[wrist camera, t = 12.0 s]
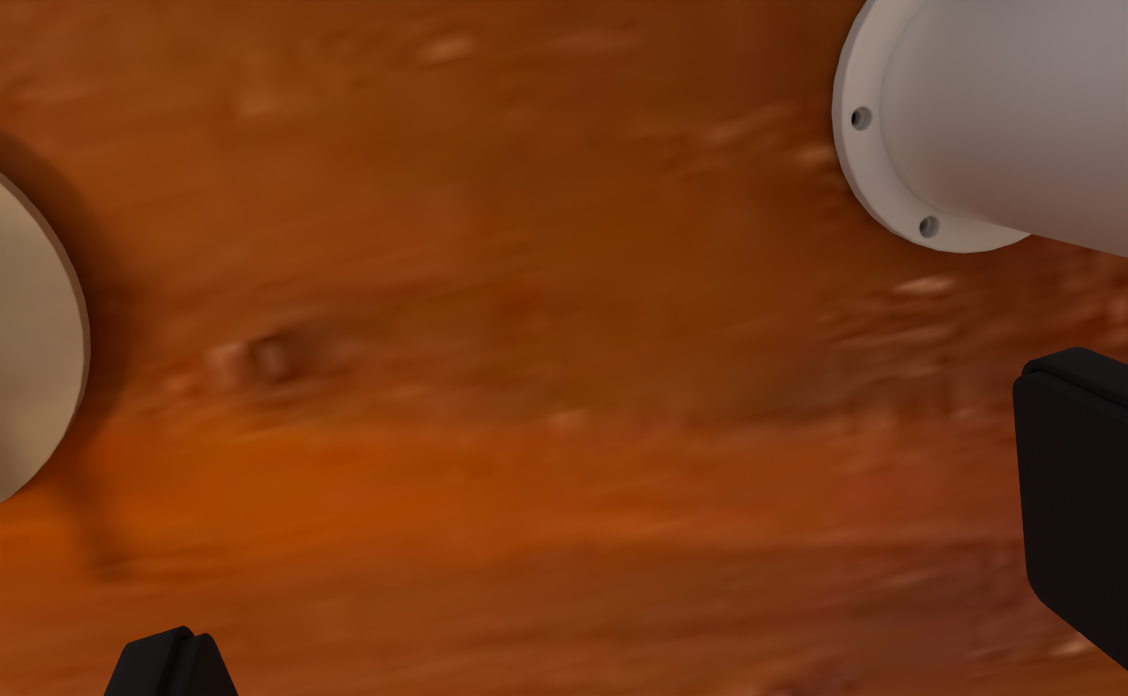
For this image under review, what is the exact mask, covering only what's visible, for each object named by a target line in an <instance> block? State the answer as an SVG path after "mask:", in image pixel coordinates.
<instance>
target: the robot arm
mask: <svg viewBox="0 0 1128 696" xmlns="http://www.w3.org/2000/svg"><path fill="white" fill-rule="evenodd" d="M853 113H855V116H856V117H855V121H854V122H853V123H852V122H851V118H852V114H853ZM831 114H832V124H833V134H834V144H835V147H836V151H837V154H838V158H839V161H840V165H841V168H842V172H843V174H844V176H845V178H846V180H847V181H848V183H849V185H850V187H851V189H852V191H853V193H854V195H855V197H856V198H857V199H858V200H859V202H860V203H861V204H862V205H863V207H864V208H865V209H866V210H867V212H868V213H869V214H870V215H871V216H872V217H873V218H874V219H875V220H876V221H878V222H879V223H880V224H881V225H883V226H884V227H885V228H887V229H888V230H889V231H890V232H892V233H893V234H896V235H898V236H900V237H902V238H904V239H906V240H908V241H910V242H912V243H914V244H918V245H921V246H925V247H928V248H931V249H934V250H937V251H946V252H955V253H972V252H982V251H990V250H993V249H997V248H1000V247H1003V246H1006V245H1010V244H1013V243H1016V242H1018V241H1020V240H1022V239H1023V238H1025V237H1027V236H1029V235H1031V234H1035V235H1039V236H1043V237H1047V238H1051V239H1055V240H1058V241H1062V242H1066V243H1070V244H1074V245H1078V246H1082V247H1086V248H1090V249H1094V250H1098V251H1102V252H1106V253H1110V254H1114V255H1118V256H1122V257H1126V258H1128V0H867V1H866V3H865V4H864V6H863V7H862V9H861V10H860V12H859V14H858V15H857V17H856V18H855V20H854V22H853V25H852V27H851V29H850V32H849V34H848V36H847V39H846V41H845V43H844V46H843V48H842V51H841V55H840V59H839V63H838V67H837V71H836V75H835V79H834V87H833V100H832V113H831ZM921 222H922V224H921V226H920V223H921ZM1013 405H1014V418H1015V430H1016V443H1017V456H1018V469H1019V481H1020V494H1021V507H1022V520H1023V533H1024V545H1025V558H1026V571H1027V576H1028V580H1029V582H1030V585H1031V587H1032V589H1033V591H1034V593H1035V594H1036V595H1037V597H1038V598H1039V599H1040V600H1041V601H1042V602H1043V603H1044V604H1045V605H1046V606H1047V607H1048V608H1050V609H1051V610H1052V611H1053V612H1055V613H1056V614H1057V615H1058V616H1060V617H1061V618H1062V619H1063V620H1065V621H1066V622H1067V623H1068V624H1070V625H1071V626H1072V627H1073V628H1075V629H1076V630H1077V631H1078V632H1080V633H1081V634H1082V635H1083V636H1085V637H1086V638H1087V639H1088V640H1090V641H1091V642H1092V643H1093V644H1095V645H1096V646H1097V647H1098V648H1100V649H1101V650H1102V651H1103V652H1105V653H1106V654H1107V655H1108V656H1110V657H1111V658H1112V659H1113V660H1115V661H1116V662H1117V663H1118V664H1120V665H1121V666H1122V667H1123V668H1125V669H1126V670H1127V671H1128V365H1126V364H1124V363H1121V362H1119V361H1116V360H1114V359H1111V358H1109V357H1106V356H1103V355H1101V354H1098V353H1096V352H1093V351H1091V350H1088V349H1086V348H1082V347H1073V348H1069V349H1066V350H1063V351H1060V352H1056V353H1053V354H1050V355H1047V356H1044V357H1040V358H1037V359H1034V360H1031V361H1029V362H1028V363H1027V364H1026V365H1025V366H1024V368H1023V371H1022V375H1021V377H1018V378H1017V379H1016V380H1015V382H1014V385H1013ZM104 696H238V694H237V691H236V689H235V687H234V684H233V682H232V680H231V677H230V675H229V673H228V671H227V668H226V666H225V664H224V661H223V659H222V657H221V654H220V652H219V650H218V647H217V645H216V643H215V641H214V639H213V638H212V637H211V636H210V635H209V634H207V633H204V634H201V635H198V636H194V634H193V633H192V632H191V630H190V629H189V628H187V627H185V626H181V627H178V628H174V629H171V630H168V631H165V632H162V633H158V634H155V635H152V636H149V637H146V638H142V639H139V640H136V641H133V642H130V643H128V644H127V645H126V646H125V648H124V649H123V651H122V654H121V656H120V658H119V661H118V663H117V665H116V668H115V670H114V672H113V675H112V677H111V679H110V682H109V684H108V686H107V689H106V691H105V693H104Z"/></svg>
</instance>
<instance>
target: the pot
mask: <svg viewBox="0 0 1128 696" xmlns="http://www.w3.org/2000/svg"><path fill="white" fill-rule="evenodd" d="M90 357H91V342H90V324H89V319H88V313H87V308H86V302H85V298H84V295H83V292H82V289H81V286H80V283H79V280H78V277H77V274H76V271H75V269H74V267H73V265H72V263H71V261H70V259H69V257H68V255H67V253H66V251H65V249H64V247H63V245H62V243H61V242H60V240H59V239H58V237H57V235H56V234H55V232H54V231H53V229H52V228H51V226H50V225H49V223H48V222H47V220H46V219H45V218H44V216H43V215H42V214H41V213H40V212H39V211H38V209H37V208H36V207H35V206H34V205H33V203H32V202H31V201H30V200H29V199H28V198H27V196H26V195H25V194H24V193H23V192H22V191H21V190H20V189H19V188H17V187H16V186H15V185H14V184H13V183H12V182H11V181H10V180H9V179H8V178H7V177H6V176H5V175H4V174H3V173H1V172H0V503H1V502H3V501H4V500H6V499H7V498H9V497H10V496H12V495H13V494H14V493H15V492H16V491H18V490H19V489H20V488H21V487H22V486H23V485H25V484H26V483H27V482H28V481H29V480H30V479H32V478H33V476H34V475H35V474H36V473H37V472H38V471H39V470H40V468H41V467H42V466H43V465H44V464H45V463H46V462H47V460H48V459H49V458H50V457H51V456H52V454H53V453H54V452H55V451H56V450H57V448H58V447H59V445H60V444H61V442H62V440H63V439H64V437H65V436H66V434H67V433H68V431H69V429H70V428H71V426H72V424H73V421H74V419H75V417H76V415H77V412H78V410H79V408H80V406H81V403H82V399H83V395H84V392H85V388H86V384H87V381H88V374H89V365H90Z"/></svg>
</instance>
